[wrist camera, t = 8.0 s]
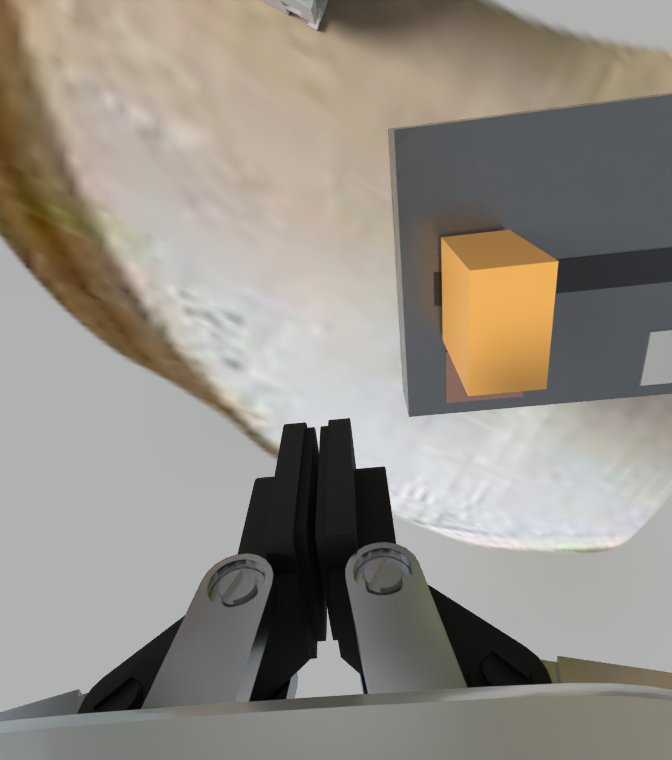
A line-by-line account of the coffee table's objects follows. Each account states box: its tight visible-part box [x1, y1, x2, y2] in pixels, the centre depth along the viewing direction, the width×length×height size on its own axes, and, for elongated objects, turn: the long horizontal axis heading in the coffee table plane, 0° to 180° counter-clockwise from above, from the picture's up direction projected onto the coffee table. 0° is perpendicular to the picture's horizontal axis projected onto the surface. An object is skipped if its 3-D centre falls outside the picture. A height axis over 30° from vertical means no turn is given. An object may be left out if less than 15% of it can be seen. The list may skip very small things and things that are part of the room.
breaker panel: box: [388, 93, 672, 417], centre depth 24 cm, size 18×14×3 cm
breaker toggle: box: [441, 230, 558, 396], centre depth 21 cm, size 3×5×6 cm, turn 7°
